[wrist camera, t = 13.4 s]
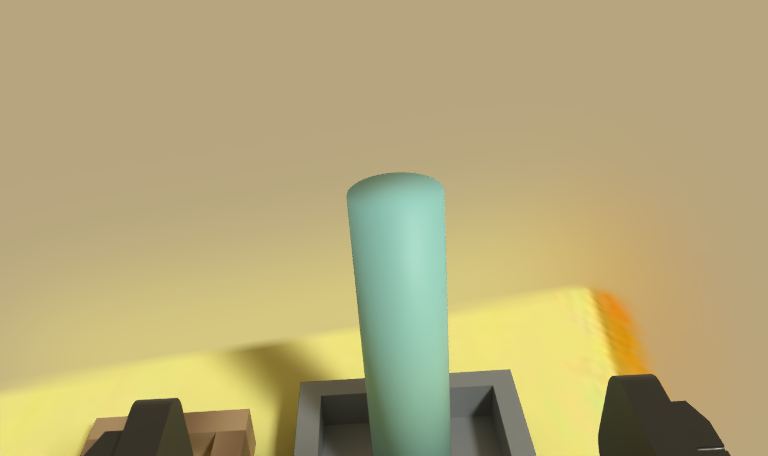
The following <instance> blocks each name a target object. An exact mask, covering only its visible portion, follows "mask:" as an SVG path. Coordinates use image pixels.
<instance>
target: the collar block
mask: <svg viewBox="0 0 768 456" xmlns="http://www.w3.org/2000/svg"><path fill="white" fill-rule="evenodd" d="M127 418H128V416H127V417H110V418H97V419H96V421H95V423H94V426H93V428H92V430H91V432H90V435H89V437H88V439H87V441H86V444H85V446H84V448H83V450H82V453H81V455H80V456H84V454H85V453H86V452H87V451H88V450H89V449H90V448H91V447H92V445H93V444H94V443H95V442H96V441H97V440H98V439H99V438H100V437H101V435H102V434H103V433H104V432H105V431H120V430H123V429H124V426H125V424H126V421H127ZM184 418H185V422H186V426H187V430H188V434H189V438H190V442H191V446H192V450H193V455H194V456H254V451H255V445H256V441H255V436H254V431H253V425H252V420H251V415H250V410H249V409H240V410H224V411H208V412H191V413H184Z"/></svg>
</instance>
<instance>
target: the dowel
mask: <svg viewBox="0 0 768 456" xmlns="http://www.w3.org/2000/svg"><path fill="white" fill-rule="evenodd" d="M444 200H445V198H444V187H443V186H442V184H441V183H440V182H438V181H437V180H435V179H434V178H431V177H429V176H425V175H421V174H415V173H387V174H381V175H376V176H372V177H369V178H366V179H364V180H361V181H359V182H358V183H356V184H355V185H353V186H352V187H351V188H350V189H349V191H348V192H347V206H348V216H349V225H350V235H351V244H352V255H353V264H354V275H355V284H356V294H357V304H358V314H359V324H360V334H361V343H362V353H363V363H364V373H365V383H366V392H367V402H368V412H369V422H370V432H371V441H372V451H373V456H451V426H450V388H449V350H448V312H447V274H446V239H445V238H446V236H445V201H444Z"/></svg>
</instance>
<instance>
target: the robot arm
mask: <svg viewBox="0 0 768 456" xmlns="http://www.w3.org/2000/svg"><path fill="white" fill-rule="evenodd" d="M598 445H599V453H600V456H730V454H729V452H728V451H725V449H724V444H723V443H722V441H721V439H720V438H719V436H718V435H717V433H716V431H715V430H714V428H713V427H712V425H711V423H710V422H709V421H708V420H707V419H706V418H705V417H704V416H703V415H701V414H700V413H699V412H698V411H697V410H696V409H694V408H693V407H692V406H691V405H690V404H688V403H687V402H686V401H674V402H671V401H670V399H669V397H668V396H667V394H666V392H665V390H664V389H663V387H662V385H661V383H660V382H659V380H658V379H657V377H656V376H654V375H653V374H642V375H623V376H612V377H611V378H610V379H609V382H608V386H607V391H606V396H605V402H604V407H603V412H602V417H601V422H600V428H599V434H598ZM84 456H194V455H193V450H192V446H191V442H190V438H189V434H188V430H187V426H186V422H185V418H184V413H183V409H182V405H181V402H180V400H179V399H178V398H169V399H151V400H137V401H135V402H134V404H133V405H132V407H131V410H130V413H129V415H128V418H127V421H126V424H125V426H124V429H123V430H120V431H105V432H104V433H103V434H102V435H101V437H100V438H99V439H98V440H97V441H96V442H95V443H94V444H93V445H92V447H91V448H90V449H89V450H88V451H87V452H86V453H85V454H84Z"/></svg>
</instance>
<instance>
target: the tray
mask: <svg viewBox="0 0 768 456" xmlns="http://www.w3.org/2000/svg"><path fill="white" fill-rule="evenodd" d="M449 388H450V426H451V456H536V453H535V450H534V446H533V443H532V440H531V437H530V433H529V430H528V427H527V423H526V420H525V417H524V414H523V410H522V407H521V404H520V400H519V397H518V394H517V390H516V387H515V384H514V381H513V377H512V374H511V371H510V369H509V370H493V371H476V372H460V373H449ZM294 456H373V451H372V441H371V432H370V422H369V412H368V402H367V392H366V383H365V378H362V379H346V380H329V381H313V382H301V384H300V395H299V405H298V416H297V427H296V437H295V448H294Z"/></svg>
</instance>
